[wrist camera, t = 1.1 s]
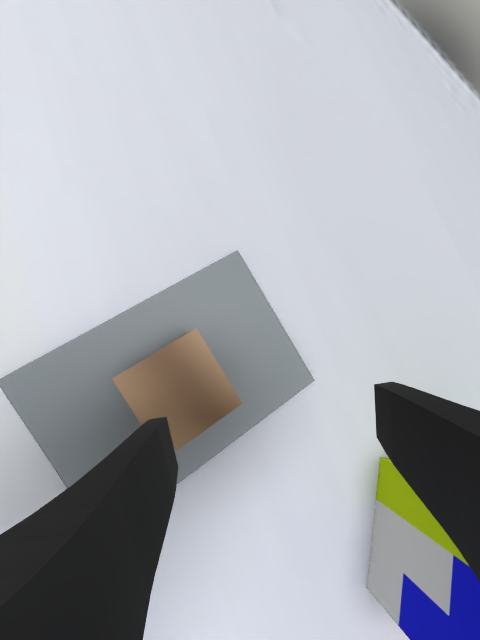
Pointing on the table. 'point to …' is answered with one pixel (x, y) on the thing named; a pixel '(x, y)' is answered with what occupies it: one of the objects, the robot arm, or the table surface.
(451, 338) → the table surface
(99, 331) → the gray tile
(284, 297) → the table surface
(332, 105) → the table surface
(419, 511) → the puzzle toy
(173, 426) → the walnut block
